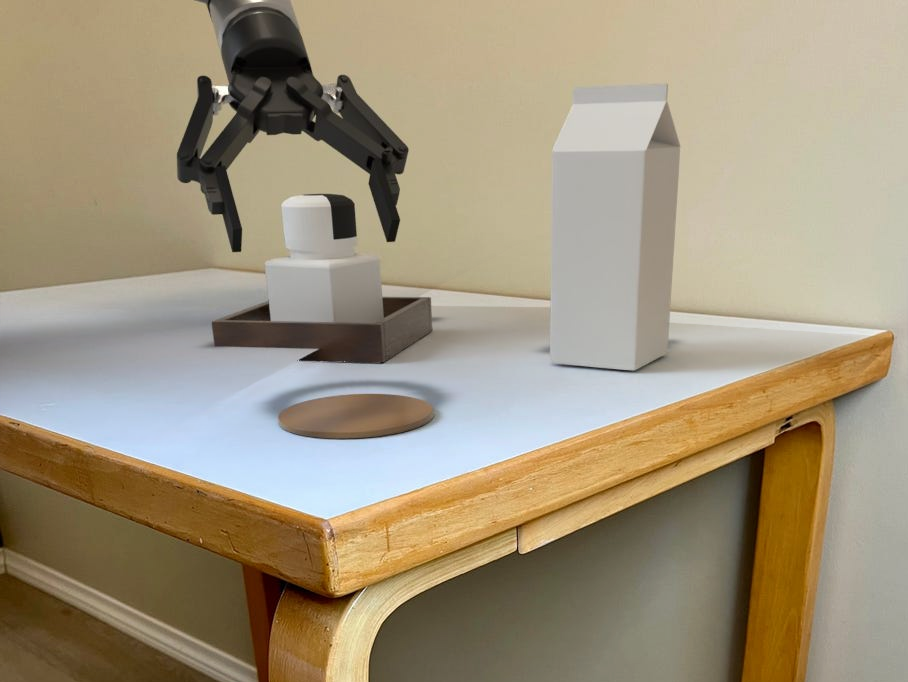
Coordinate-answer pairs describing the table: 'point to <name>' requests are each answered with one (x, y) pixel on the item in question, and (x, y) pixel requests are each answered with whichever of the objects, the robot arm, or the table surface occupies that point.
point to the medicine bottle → (323, 265)
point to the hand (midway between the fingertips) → (317, 236)
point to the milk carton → (613, 227)
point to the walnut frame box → (330, 332)
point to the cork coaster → (356, 416)
